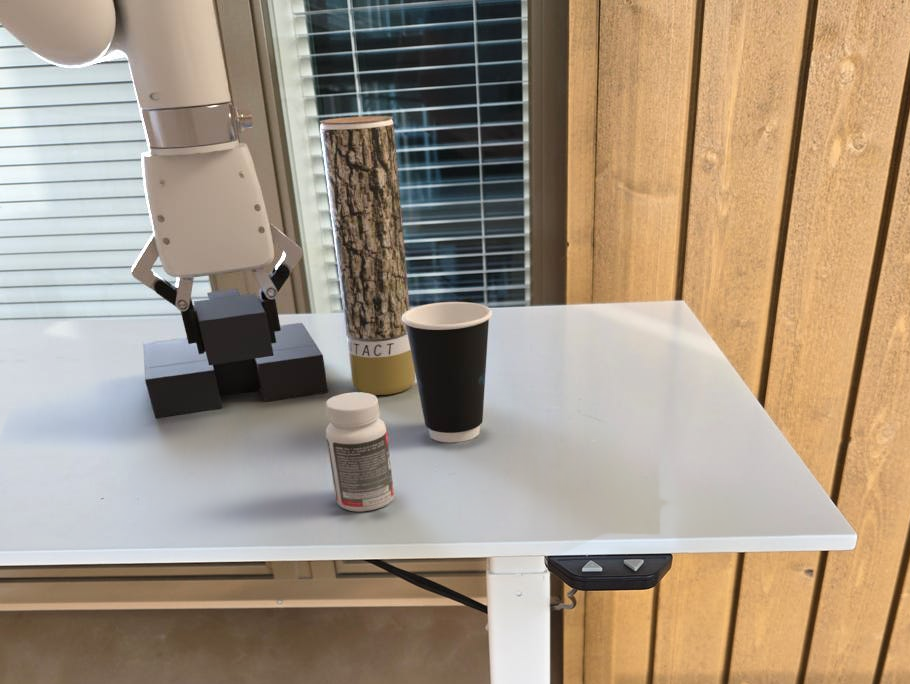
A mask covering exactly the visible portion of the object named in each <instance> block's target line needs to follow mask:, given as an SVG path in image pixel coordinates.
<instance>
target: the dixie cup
mask: <svg viewBox="0 0 910 684" xmlns="http://www.w3.org/2000/svg"><path fill="white" fill-rule="evenodd" d="M492 316H493V312H492V309H491V308H490V307H488V306H487V305H483V304H480V303H475V302H467V301H446V302H445V301H444V302H434V303H428V304H422V305H418V306H416V307H412V308H410V310H408V311H406V312H405V313H404V314H403V315H402V321H403V322H404V323H405V324H406V328H407V334H408V339H409V344H410V349H411V354H412V359H413V364H414V370H415V381H416V384H417V391H418V394H419V399H420V405H421V410H422V415H423V420H424V421H423V422H424V424H425V427H426V428H427V430H428V434H429V438H431V439H432V440H434V441H437V442H441V443H448V444H449V443H461V442H462V443H463V442H466V441H471V440H473V439H475V438H476V437H478V436H479V435H480V431H481V424H483V420H484V404H485V403H484V402H485V387H486V373H487V372H486V371H487V370H486V369H487V357H488V356H487V355H488V340H489V339H488V338H489V325H490V324H489V322H490V319H491V318H492Z"/></svg>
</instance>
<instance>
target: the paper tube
mask: <svg viewBox="0 0 910 684" xmlns="http://www.w3.org/2000/svg"><path fill="white" fill-rule="evenodd" d="M393 118H394V117H393V116H389V115H365V116H362V115H361V116H348V117H338V118H329V119H322V120H319V123H320V126H319V127H320V128H319V130H320V131H319V132H320V139H321V147H322V153H323V154H322V155H323V161H324V162H323V163H324V169H325V170H324V171H325V178H326V185H327V186H326V187H327V193H328V201H329V209H330V219H331V226H332V233H333V240H334V242H333V243H334V249H335V257H336V265H337V271H338V280H339V287H340V296H341V303H342V312H343V319H344V327H345V333H346V342H347V343H346V344H347V350H348V355H349V356H348V357H349V365H350V371H351V380H352V385H353V387H354V388H355V389H356V390H357V392H362V393H369V394H372V395H374V396H387V395H388V396H389V395H394V394H398V393H401V392H404V391H407V390H409V389H410V388H412V386H413V385H415V381H416V375H415V370H414V364H413V359H412V354H411V349H410V344H409V339H408V334H407V328H406V324H405V323H404V322H403V321H402V315H403V314H404V313H405V312H406V311H408V310H410V309H411V307H410V306H411V305H410V297H409V285H408V273H407V260H406V251H405V250H406V249H405V238H404V225H403V213H402V204H401V192H400V180H399V168H398V167H399V166H398V157H397V156H398V155H397V146H396V145H397V144H396V133H395V125H394V121H393Z"/></svg>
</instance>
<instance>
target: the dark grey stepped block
mask: <svg viewBox="0 0 910 684" xmlns="http://www.w3.org/2000/svg"><path fill="white" fill-rule="evenodd" d="M207 298H208V299H201V300H195V301H193V305H195V307H196V310H197V317H198V321H199V325H200V330H201V334H202V338H203V343H204V347H205V351H206V356H207V359H208V363H209V365H215V364H222V363H228V362H235V361H242V360H248V359H255V358H262V357H268V356H274V354H273V349H272V343H271V338H270V333H269V327H268V322H267V317H266V312H265V310H264V308H263V307H262V305H261V303H260V301H259V300H258V295H257V293H255V292H254V293H247V294H240V292H239V290H238V288H233V289H225V290H216V291H211V292H210V291H209V292H207Z"/></svg>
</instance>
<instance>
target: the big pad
mask: <svg viewBox="0 0 910 684" xmlns="http://www.w3.org/2000/svg"><path fill="white" fill-rule="evenodd" d="M280 328H281V331H275V337H276V343H272V349H273V354H274V356H268V357H262V358H255V359H248V360H242V361H235V362H228V363H222V364H215V365H209V363H208V359H207V356H206V352H204V354H199V353H198V348H197V344H196V343H192V344H189V343H188V339H187V337H182V338H181V337H180V338H175V339H174V338H173V339H167V340H158V341H152V342H151V341H149V342H143V345H142V346H143V363H144V365H143V366H144V381H145V384H146V388H147V392H148V396H149V400H150V403H151V408H152V411H153V415H154V418H155V419H158V418H166V417H172V416H179V415H185V414H193V413H199V412H205V411H211V410H212V411H213V410H217V409H219V410H220V409H223V404H222V400H221V397H222V396H223V397H224V396H230V395H231V396H232V395H236V394H243V393H250V392H257V391H260V393H261V395H262V398H263V401H264V402H273V401H278V400H286V399H292V398H298V397H304V396H305V397H306V396H311V395H318V394H325V393H329V388H328V381H327V373H326V366H325V359H324V354H323V353H322V352H321V350H320V349H319V347H318V345H317V343H316V342H315V340H314V339H313V337H312V336H311V334H310V332H309V331H308V330H307V328H306V326H305V325H304V323H303V322H297V323H290V324H280Z"/></svg>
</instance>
